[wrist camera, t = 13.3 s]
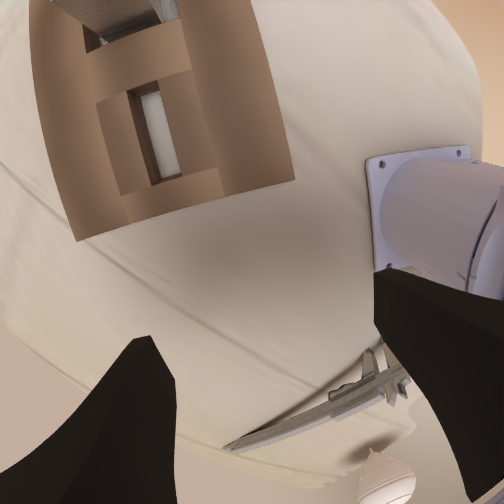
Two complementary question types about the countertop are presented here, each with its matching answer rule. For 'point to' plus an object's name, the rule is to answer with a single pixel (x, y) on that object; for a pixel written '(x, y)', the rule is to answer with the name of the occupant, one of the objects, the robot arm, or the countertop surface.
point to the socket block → (175, 104)
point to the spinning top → (385, 481)
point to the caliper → (337, 402)
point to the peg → (113, 15)
